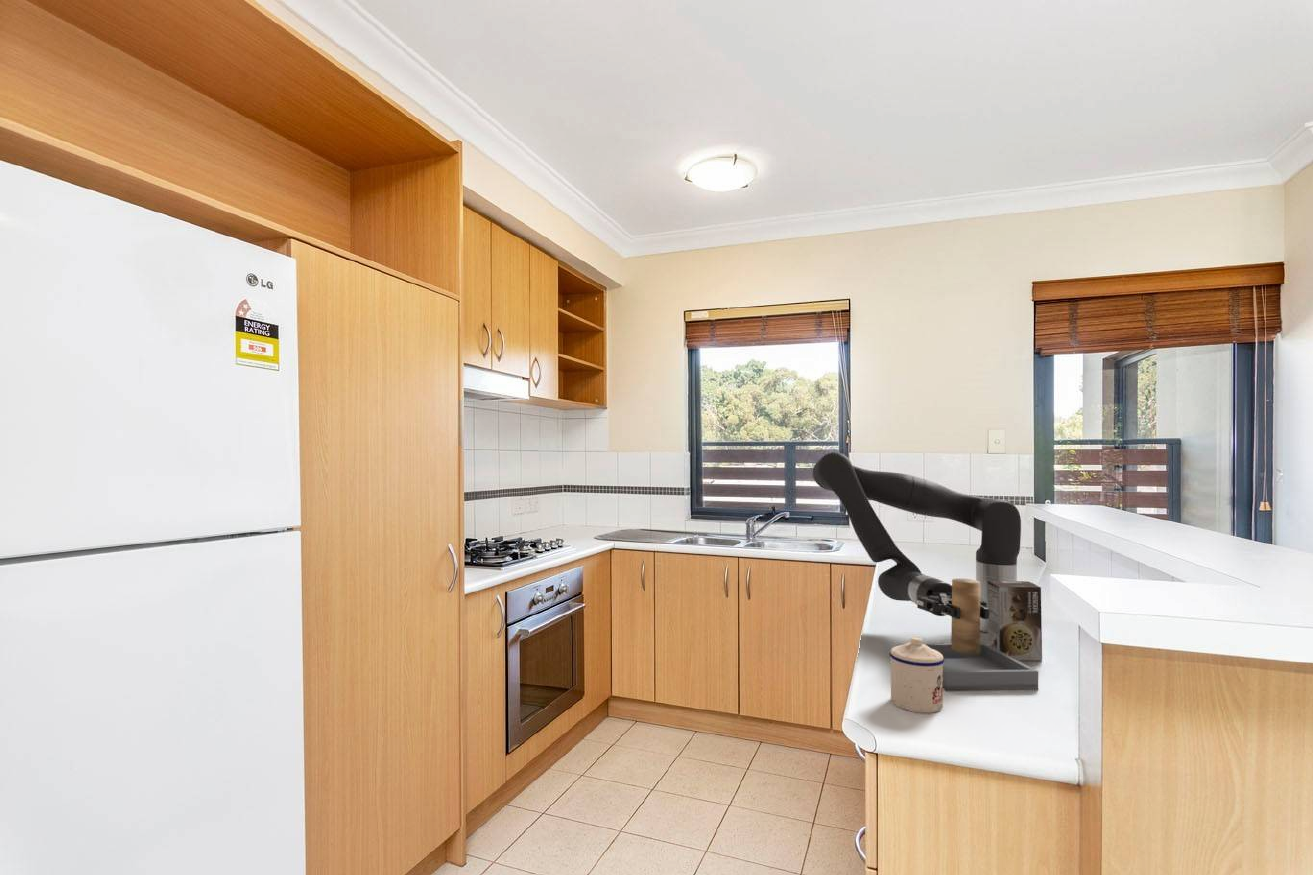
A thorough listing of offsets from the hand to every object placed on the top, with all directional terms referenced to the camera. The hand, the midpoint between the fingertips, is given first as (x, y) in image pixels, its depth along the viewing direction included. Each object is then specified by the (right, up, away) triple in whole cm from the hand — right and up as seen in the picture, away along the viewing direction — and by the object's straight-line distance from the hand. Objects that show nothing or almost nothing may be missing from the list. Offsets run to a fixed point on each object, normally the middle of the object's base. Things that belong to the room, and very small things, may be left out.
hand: (972, 613), depth 129 cm
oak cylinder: (0, -8, +2) cm, 8 cm away
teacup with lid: (-16, -13, -12) cm, 24 cm away
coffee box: (+16, -13, +14) cm, 25 cm away
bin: (0, -13, +2) cm, 13 cm away
